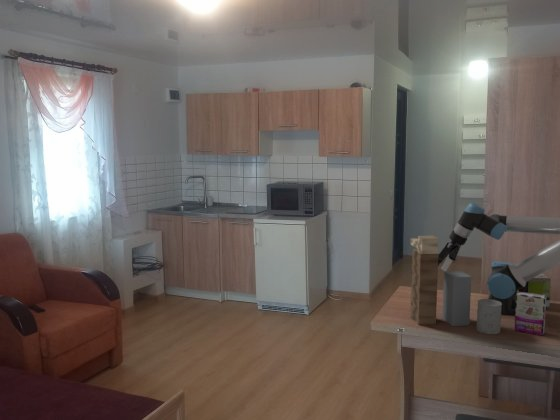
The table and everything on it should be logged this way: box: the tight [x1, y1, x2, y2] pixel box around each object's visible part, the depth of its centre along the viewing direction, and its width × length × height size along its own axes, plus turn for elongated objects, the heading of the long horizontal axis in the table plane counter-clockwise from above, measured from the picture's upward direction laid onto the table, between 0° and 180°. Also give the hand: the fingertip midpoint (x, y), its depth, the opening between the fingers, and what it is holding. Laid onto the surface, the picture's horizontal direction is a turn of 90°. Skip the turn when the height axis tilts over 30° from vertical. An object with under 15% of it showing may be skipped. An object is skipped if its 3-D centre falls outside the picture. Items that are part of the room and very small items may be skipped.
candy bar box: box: [514, 292, 547, 336], centre depth 218 cm, size 11×5×16 cm, turn 56°
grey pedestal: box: [441, 270, 472, 327], centre depth 230 cm, size 10×8×22 cm
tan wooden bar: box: [409, 235, 439, 254], centre depth 233 cm, size 20×7×7 cm, turn 6°
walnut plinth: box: [410, 248, 440, 326], centre depth 231 cm, size 10×8×32 cm
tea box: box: [517, 272, 552, 308], centre depth 254 cm, size 15×10×15 cm
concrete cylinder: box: [476, 298, 502, 335], centre depth 221 cm, size 10×10×12 cm
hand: (437, 271), depth 246 cm, fingers open, 13 cm apart
